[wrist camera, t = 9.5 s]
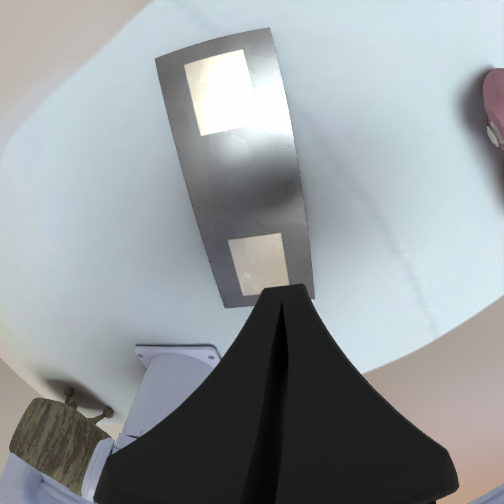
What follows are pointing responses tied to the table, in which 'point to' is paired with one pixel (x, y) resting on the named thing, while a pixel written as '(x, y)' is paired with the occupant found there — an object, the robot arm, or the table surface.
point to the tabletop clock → (58, 440)
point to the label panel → (239, 162)
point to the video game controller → (495, 105)
